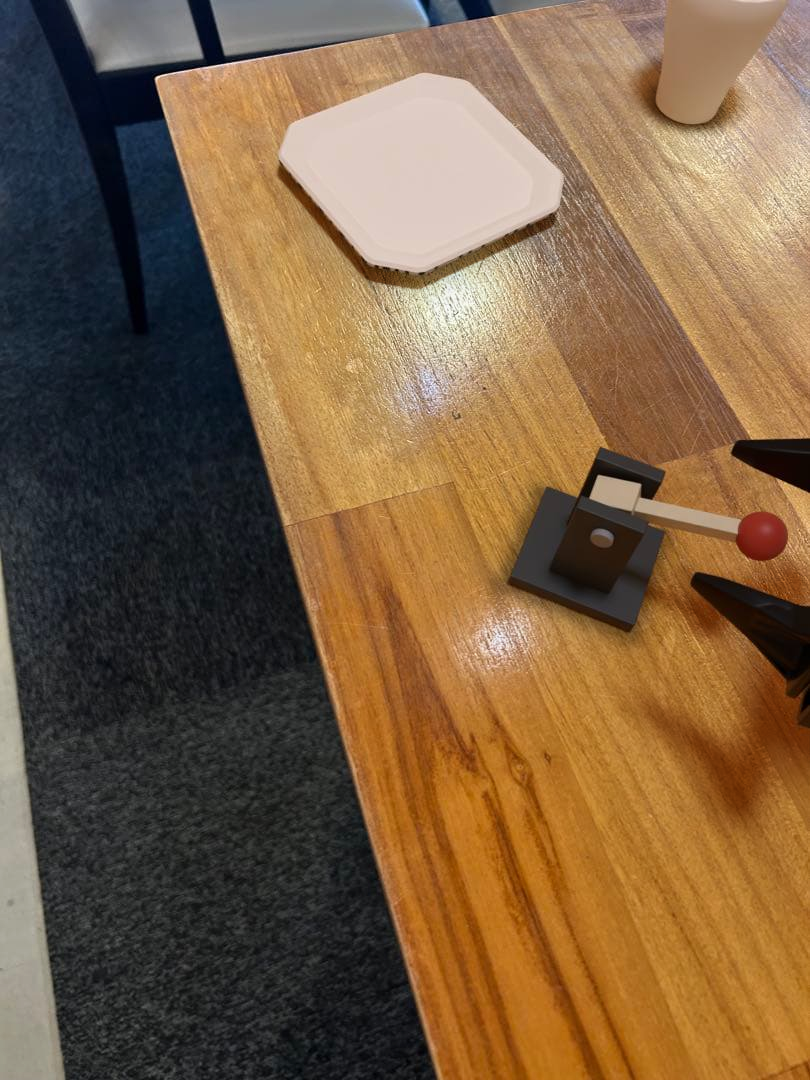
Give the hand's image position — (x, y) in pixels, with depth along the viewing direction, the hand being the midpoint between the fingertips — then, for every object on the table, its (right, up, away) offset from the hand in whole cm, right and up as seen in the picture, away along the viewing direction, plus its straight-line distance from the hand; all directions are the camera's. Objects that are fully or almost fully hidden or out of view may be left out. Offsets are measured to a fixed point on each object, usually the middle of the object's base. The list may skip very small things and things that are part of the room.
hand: (713, 510), depth 53 cm
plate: (-16, +30, +32) cm, 47 cm away
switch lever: (+1, -1, +8) cm, 8 cm away
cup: (+10, +41, +40) cm, 58 cm away
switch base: (-4, -3, +15) cm, 16 cm away
